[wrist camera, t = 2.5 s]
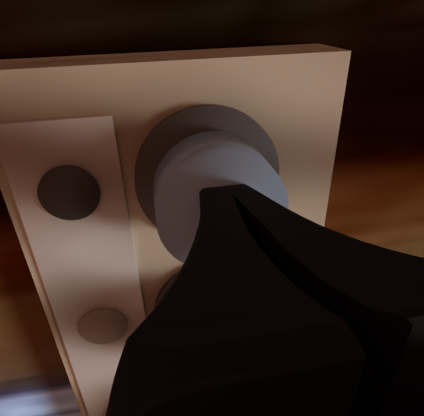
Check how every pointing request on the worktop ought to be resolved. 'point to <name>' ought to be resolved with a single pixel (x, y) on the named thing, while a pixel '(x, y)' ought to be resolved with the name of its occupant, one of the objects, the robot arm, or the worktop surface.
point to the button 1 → (205, 182)
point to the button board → (143, 172)
